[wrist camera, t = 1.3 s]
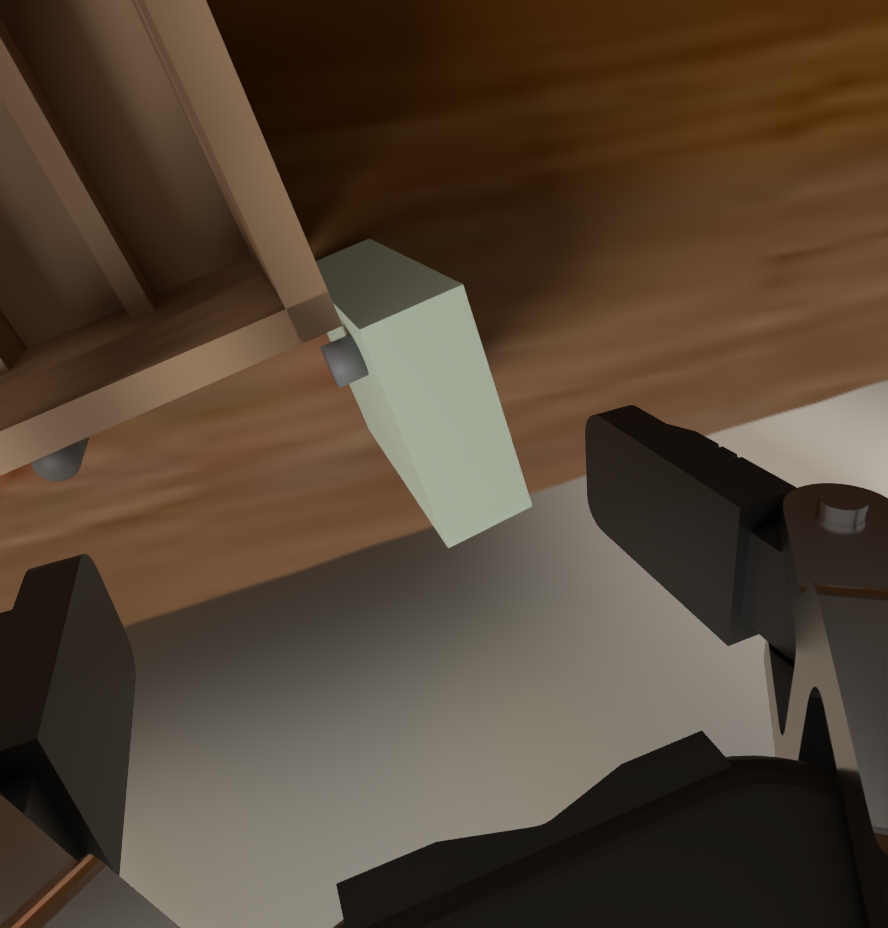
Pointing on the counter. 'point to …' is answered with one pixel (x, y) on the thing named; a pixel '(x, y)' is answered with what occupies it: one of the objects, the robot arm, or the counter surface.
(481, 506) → the door
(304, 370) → the counter surface
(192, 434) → the counter surface
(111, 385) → the cabinet
